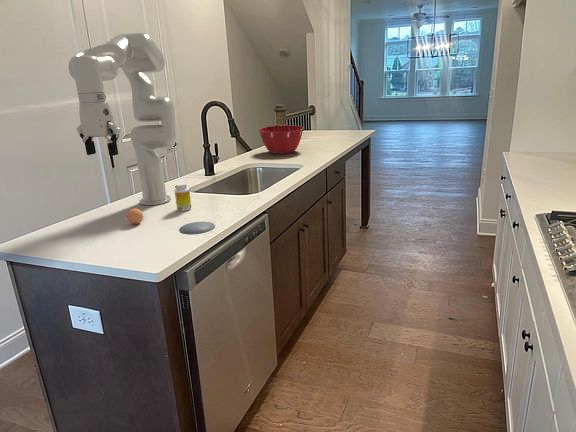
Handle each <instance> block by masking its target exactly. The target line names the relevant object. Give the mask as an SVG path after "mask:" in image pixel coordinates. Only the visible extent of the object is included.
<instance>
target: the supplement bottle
mask: <svg viewBox="0 0 576 432" xmlns="http://www.w3.org/2000/svg"><path fill="white" fill-rule="evenodd" d="M190 192H191V191H190V188H188V186H187V183H186V182H179V183H176V184H175V189H174V196H175V203H176V205H175V206H176V210H178V211H179V212H186V211H190V210H191V209H192V202H191V195H190Z"/></svg>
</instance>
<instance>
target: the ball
mask: <svg viewBox="0 0 576 432" xmlns="http://www.w3.org/2000/svg"><path fill="white" fill-rule="evenodd" d="M143 218H144V214H143V212H142V211H141V209H139V208H130V209H129V210H128V211H127V212H126V220H127V221H128V222H129V223H130V224H132V225H137V224H140V223H141V222H142V221H143V220H144V219H143Z"/></svg>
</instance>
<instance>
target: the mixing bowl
mask: <svg viewBox="0 0 576 432" xmlns="http://www.w3.org/2000/svg"><path fill="white" fill-rule="evenodd" d="M258 132H259V135H260V138H261V140H262V142H263V145H264V147H265V148H266V151H268V152H269V153H271V154H273V155H288V154H292V153H294V151H296V150H297V148H298V147H299V145H300V142H301V140H302V136H303V132H304V126H301V125H292V124H291V125H271V126H265V127H261V128H260V127H259V129H258Z"/></svg>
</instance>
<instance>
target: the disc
mask: <svg viewBox="0 0 576 432" xmlns="http://www.w3.org/2000/svg"><path fill="white" fill-rule="evenodd" d="M215 227H216V225H215V223H213V222H212V221H195V222H189V223H186V224H183V225H182V226H180V228H179V229H178V230H179V232H180V233H181V234H185V235H196V234H197V235H198V234H204V233H208V232H209V231H212V230H214V229H215Z"/></svg>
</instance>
